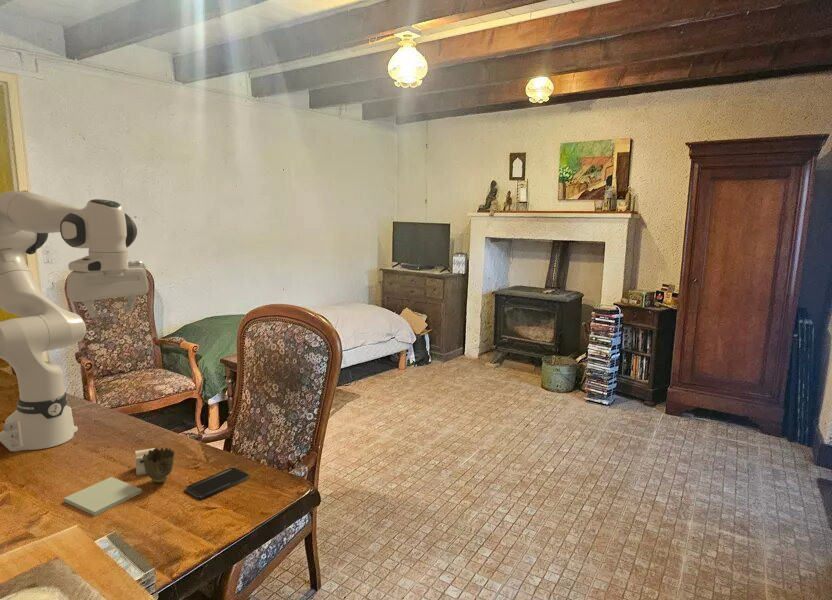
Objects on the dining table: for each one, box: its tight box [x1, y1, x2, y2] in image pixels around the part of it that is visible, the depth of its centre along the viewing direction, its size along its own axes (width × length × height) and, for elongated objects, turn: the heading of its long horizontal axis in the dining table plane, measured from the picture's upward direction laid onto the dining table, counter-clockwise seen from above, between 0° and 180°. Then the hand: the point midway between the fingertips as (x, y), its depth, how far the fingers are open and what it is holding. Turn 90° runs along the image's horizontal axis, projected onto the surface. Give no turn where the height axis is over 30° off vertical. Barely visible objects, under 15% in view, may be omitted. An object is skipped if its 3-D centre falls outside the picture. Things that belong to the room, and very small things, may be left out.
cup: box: [143, 447, 175, 485], centre depth 136 cm, size 8×7×8 cm
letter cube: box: [134, 447, 156, 476], centre depth 142 cm, size 5×5×5 cm
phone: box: [185, 466, 250, 501], centre depth 137 cm, size 8×1×15 cm
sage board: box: [63, 476, 142, 517], centre depth 128 cm, size 12×12×1 cm
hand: (111, 314), depth 136 cm, fingers open, 8 cm apart
